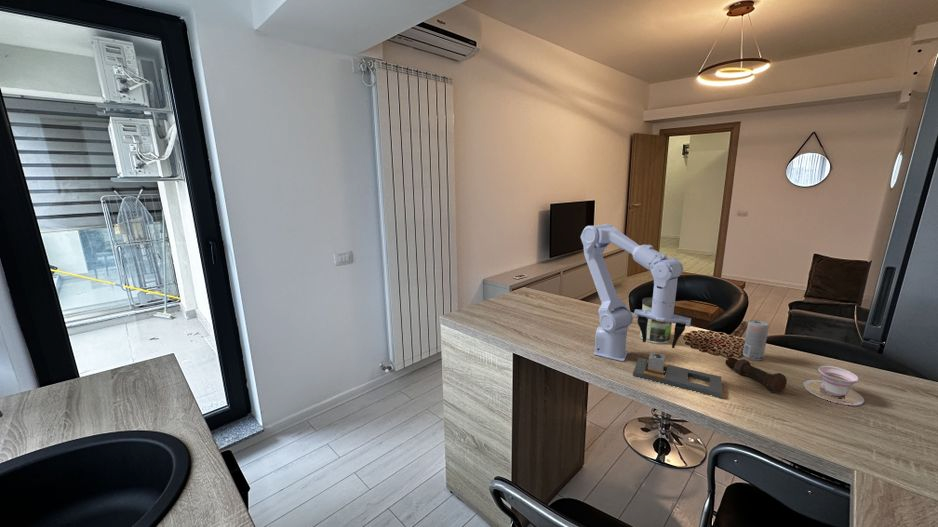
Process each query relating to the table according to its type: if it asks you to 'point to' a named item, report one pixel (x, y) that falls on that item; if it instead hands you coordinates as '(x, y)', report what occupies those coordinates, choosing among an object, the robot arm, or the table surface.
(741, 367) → the dark brown lumpy rod
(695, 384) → the rail
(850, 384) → the teacup
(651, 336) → the coffee can
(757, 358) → the energy drink
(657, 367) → the nut block
